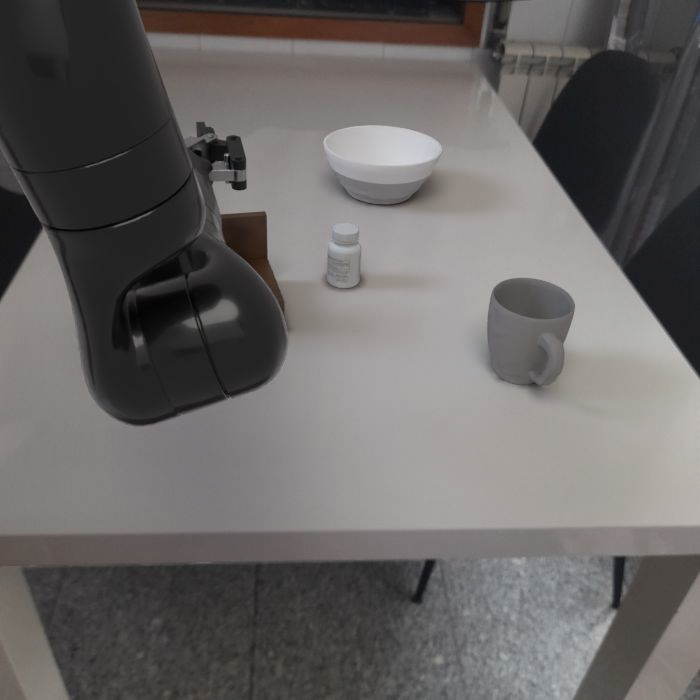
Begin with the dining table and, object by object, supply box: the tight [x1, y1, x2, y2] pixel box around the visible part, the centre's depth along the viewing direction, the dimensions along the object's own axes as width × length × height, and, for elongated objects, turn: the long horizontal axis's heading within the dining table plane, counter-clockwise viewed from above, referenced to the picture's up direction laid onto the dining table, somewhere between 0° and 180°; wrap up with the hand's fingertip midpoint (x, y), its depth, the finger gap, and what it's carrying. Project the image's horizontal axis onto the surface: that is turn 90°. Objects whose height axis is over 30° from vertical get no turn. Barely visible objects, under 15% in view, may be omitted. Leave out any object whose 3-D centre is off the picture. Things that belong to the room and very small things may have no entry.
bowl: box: [322, 124, 443, 205], centre depth 119 cm, size 20×20×8 cm
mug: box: [486, 277, 576, 386], centre depth 77 cm, size 12×9×10 cm
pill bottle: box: [326, 222, 362, 289], centre depth 94 cm, size 4×4×8 cm
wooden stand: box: [220, 210, 285, 316], centre depth 85 cm, size 20×12×10 cm, turn 106°
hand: (150, 134), depth 63 cm, fingers open, 8 cm apart
